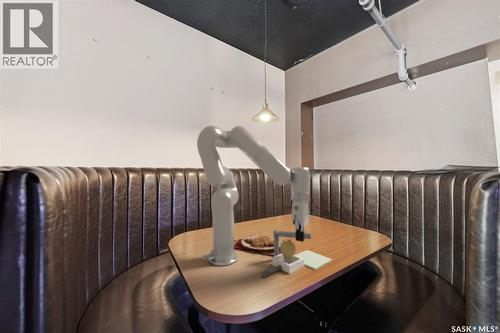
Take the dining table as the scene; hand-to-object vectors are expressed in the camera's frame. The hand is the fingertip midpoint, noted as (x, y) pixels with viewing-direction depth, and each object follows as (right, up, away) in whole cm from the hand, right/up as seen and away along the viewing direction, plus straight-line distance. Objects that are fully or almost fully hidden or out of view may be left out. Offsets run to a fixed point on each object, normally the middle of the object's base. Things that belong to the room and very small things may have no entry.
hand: (299, 240), depth 81 cm
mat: (+6, -11, +5) cm, 14 cm away
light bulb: (-5, -11, 0) cm, 12 cm away
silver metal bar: (-3, 0, +4) cm, 5 cm away
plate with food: (-14, -12, +24) cm, 30 cm away
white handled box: (-10, -11, -2) cm, 14 cm away
